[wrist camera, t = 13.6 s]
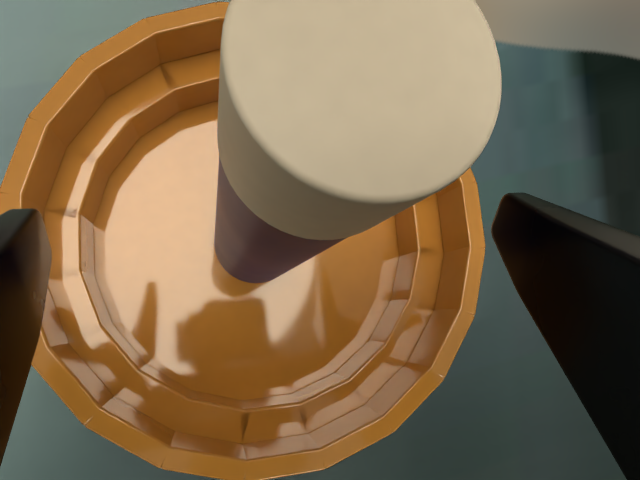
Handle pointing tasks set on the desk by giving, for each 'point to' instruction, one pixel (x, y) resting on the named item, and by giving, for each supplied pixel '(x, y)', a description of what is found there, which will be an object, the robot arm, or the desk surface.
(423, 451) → the desk surface
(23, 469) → the desk surface
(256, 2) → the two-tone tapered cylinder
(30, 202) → the bowl
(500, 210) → the robot arm
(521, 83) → the desk surface
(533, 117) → the desk surface
